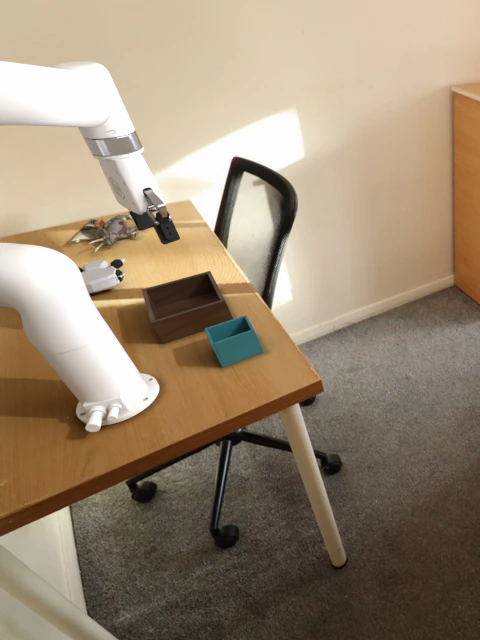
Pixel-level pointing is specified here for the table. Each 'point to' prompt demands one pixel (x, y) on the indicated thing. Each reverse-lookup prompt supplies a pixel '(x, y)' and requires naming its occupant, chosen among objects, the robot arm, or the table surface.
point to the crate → (185, 306)
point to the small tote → (234, 340)
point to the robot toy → (102, 275)
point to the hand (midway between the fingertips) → (159, 234)
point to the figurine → (105, 231)
